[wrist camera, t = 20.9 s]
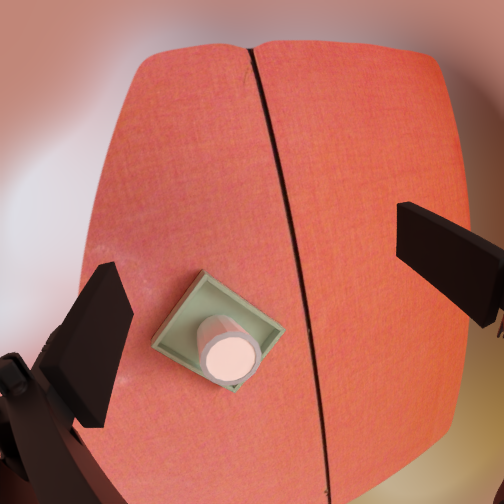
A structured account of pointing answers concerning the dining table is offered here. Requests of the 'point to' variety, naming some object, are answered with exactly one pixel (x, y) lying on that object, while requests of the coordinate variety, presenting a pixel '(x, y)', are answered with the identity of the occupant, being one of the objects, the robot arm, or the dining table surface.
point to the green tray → (201, 307)
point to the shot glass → (226, 351)
